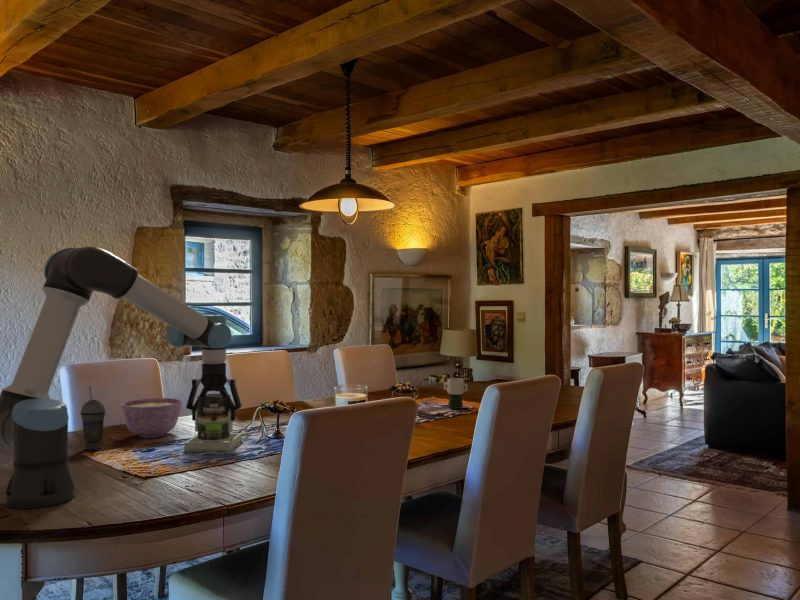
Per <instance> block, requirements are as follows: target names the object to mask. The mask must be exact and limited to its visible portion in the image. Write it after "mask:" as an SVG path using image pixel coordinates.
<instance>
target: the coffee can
mask: <svg viewBox="0 0 800 600" xmlns="http://www.w3.org/2000/svg"><path fill="white" fill-rule="evenodd" d="M228 395H229V396H228V397H223V396H222V395H221V393H206V395H205V396H204V397H199V395H197V396H196V397H197V398H196V400H197V399H198V409H197V410H198V431H197V434H198V439H197V440H198V441H200V442H222V441H226V440H229V439H230V433H231V432H228V411H230V408H229V407H228V399H229V398H231V395H230V394H228Z"/></svg>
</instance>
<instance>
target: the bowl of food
mask: <svg viewBox="0 0 800 600" xmlns="http://www.w3.org/2000/svg"><path fill="white" fill-rule="evenodd" d="M182 402H183V400H181V399H178V398H171V397H170V398H169V397H156V398H155V397H153V398H152V397H151V398H140V399H132V400H128V401H123V402H122V403H121V404H120V407H121V409H122V413H123V418H124V421H125V425H126V427H127V429H128V430H129V431H130V433H133V434H135V435H139V437H140V438H145V439H151V438H152V439H153V438H159V437H163V436H165V434H166V433H169V432H171V431H172V430H173V429H174V428H175V426H176V425H177V423H178V420H179V416H180V412H181V407H182Z"/></svg>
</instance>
